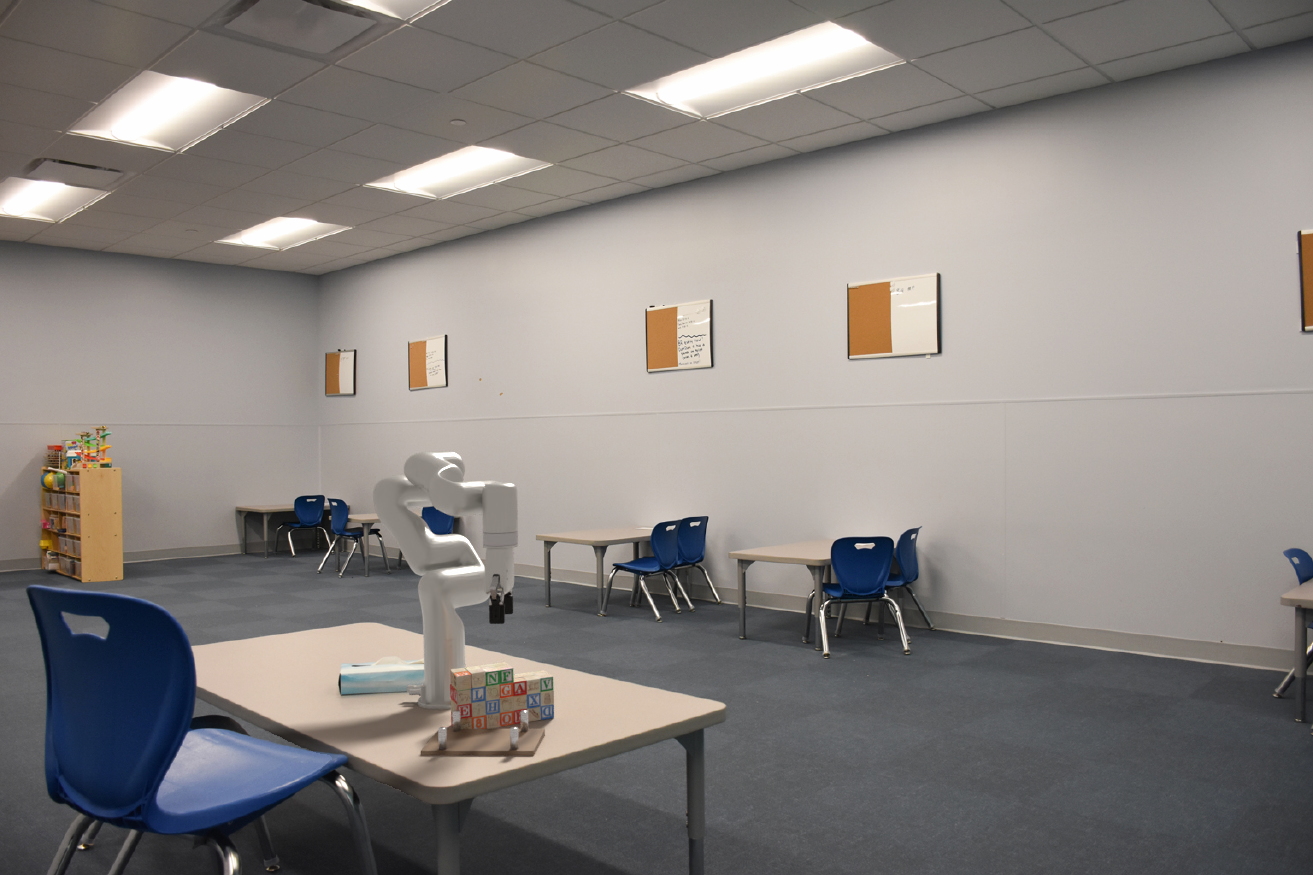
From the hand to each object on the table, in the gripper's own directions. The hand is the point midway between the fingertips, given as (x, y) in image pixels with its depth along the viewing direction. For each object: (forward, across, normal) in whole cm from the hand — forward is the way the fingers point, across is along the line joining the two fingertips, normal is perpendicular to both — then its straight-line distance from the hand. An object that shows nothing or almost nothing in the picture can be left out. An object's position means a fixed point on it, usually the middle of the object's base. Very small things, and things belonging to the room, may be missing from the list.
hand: (501, 618), depth 199 cm
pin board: (+22, +16, 0) cm, 28 cm away
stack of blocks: (+23, 0, 0) cm, 23 cm away
